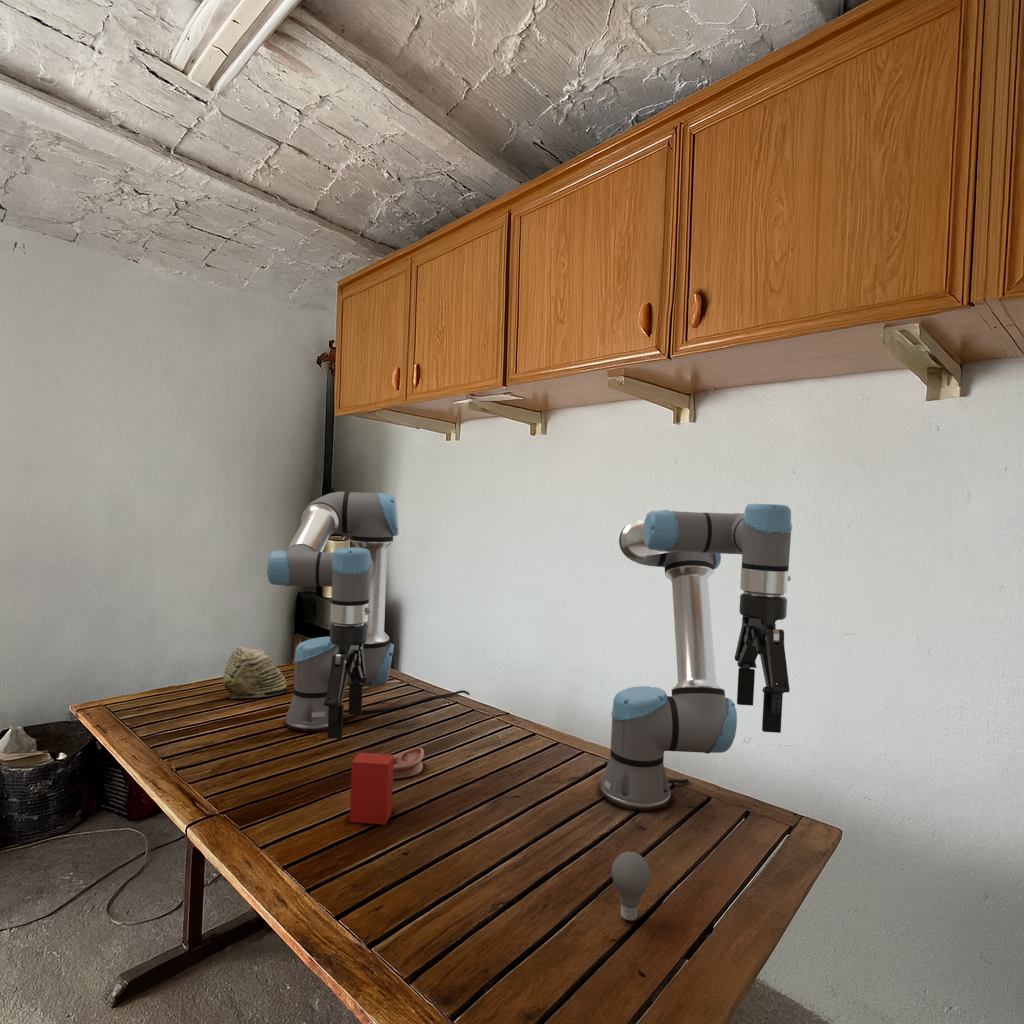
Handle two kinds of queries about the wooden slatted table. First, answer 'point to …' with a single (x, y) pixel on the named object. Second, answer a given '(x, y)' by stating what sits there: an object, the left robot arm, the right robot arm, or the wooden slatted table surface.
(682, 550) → the right robot arm
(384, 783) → the brick
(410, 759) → the anatomical model
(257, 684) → the fossil
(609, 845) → the wooden slatted table surface
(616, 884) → the light bulb
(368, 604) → the left robot arm
